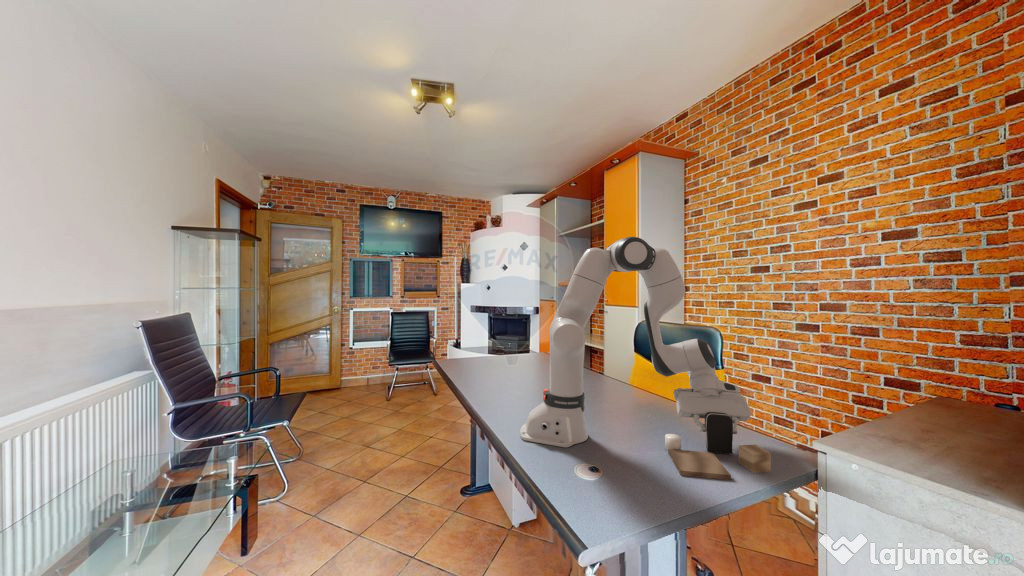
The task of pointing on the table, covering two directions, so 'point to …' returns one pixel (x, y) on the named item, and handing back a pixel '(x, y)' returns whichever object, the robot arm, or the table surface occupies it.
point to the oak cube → (755, 458)
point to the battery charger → (719, 432)
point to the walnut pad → (698, 464)
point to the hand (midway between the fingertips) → (718, 432)
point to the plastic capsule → (672, 442)
